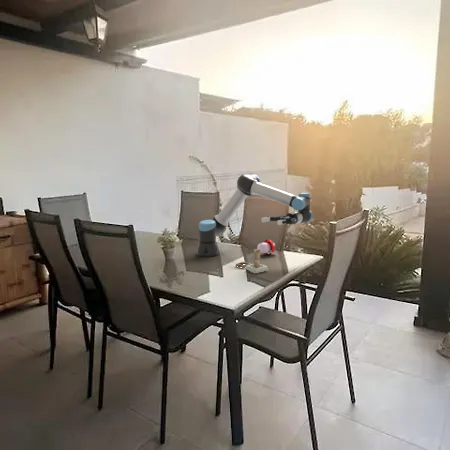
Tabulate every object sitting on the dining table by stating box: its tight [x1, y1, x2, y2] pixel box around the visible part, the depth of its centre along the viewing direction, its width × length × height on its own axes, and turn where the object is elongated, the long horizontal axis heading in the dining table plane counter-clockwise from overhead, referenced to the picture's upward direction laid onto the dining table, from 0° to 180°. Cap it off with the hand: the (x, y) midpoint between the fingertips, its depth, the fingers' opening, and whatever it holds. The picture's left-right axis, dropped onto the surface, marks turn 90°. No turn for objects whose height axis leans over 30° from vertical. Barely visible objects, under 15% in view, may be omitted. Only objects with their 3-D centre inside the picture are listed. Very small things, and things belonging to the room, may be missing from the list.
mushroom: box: [256, 239, 276, 254], centre depth 270 cm, size 11×11×12 cm
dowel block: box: [235, 261, 252, 269], centre depth 240 cm, size 7×7×2 cm
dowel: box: [253, 248, 261, 268], centre depth 230 cm, size 4×4×12 cm
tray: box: [245, 263, 269, 272], centre depth 231 cm, size 9×9×3 cm
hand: (269, 221), depth 236 cm, fingers open, 13 cm apart
